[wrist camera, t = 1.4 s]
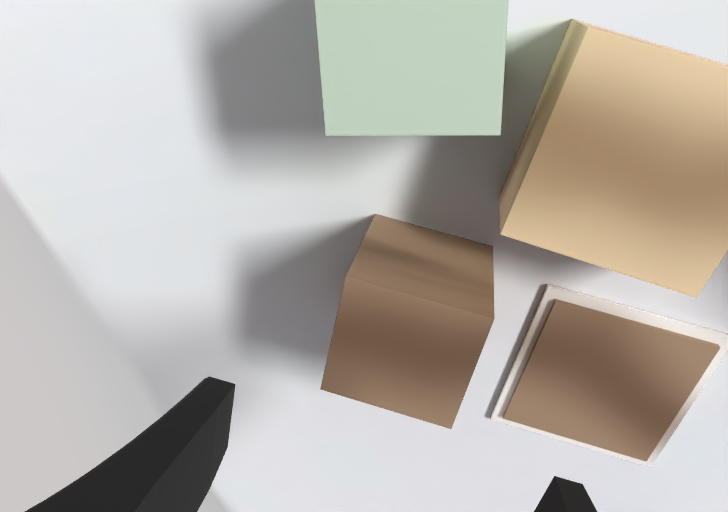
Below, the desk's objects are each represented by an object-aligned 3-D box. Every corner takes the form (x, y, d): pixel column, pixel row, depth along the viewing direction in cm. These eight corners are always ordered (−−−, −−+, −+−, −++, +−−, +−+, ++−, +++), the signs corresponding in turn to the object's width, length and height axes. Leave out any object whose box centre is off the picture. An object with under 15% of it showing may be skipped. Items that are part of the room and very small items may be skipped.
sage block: (497, 96, 18) (500, 135, 14) (362, 98, 19) (325, 135, 15) (505, -61, 16) (512, -75, 12) (354, -51, 17) (309, -60, 13)
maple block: (664, 247, 20) (696, 297, 16) (499, 194, 20) (500, 234, 17) (765, 76, 17) (827, 98, 14) (570, 18, 17) (588, 27, 14)
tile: (649, 463, 23) (651, 471, 23) (490, 416, 24) (490, 422, 24) (733, 335, 20) (737, 342, 20) (547, 284, 21) (548, 289, 20)
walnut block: (458, 341, 23) (451, 429, 18) (352, 310, 23) (320, 389, 19) (492, 245, 21) (494, 318, 16) (375, 213, 21) (345, 276, 17)
